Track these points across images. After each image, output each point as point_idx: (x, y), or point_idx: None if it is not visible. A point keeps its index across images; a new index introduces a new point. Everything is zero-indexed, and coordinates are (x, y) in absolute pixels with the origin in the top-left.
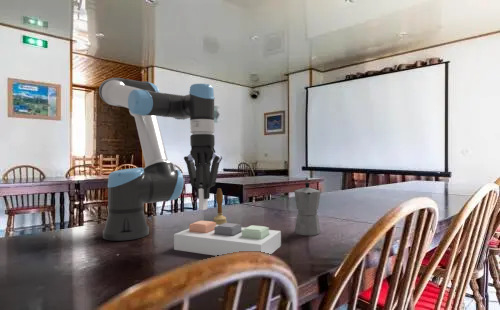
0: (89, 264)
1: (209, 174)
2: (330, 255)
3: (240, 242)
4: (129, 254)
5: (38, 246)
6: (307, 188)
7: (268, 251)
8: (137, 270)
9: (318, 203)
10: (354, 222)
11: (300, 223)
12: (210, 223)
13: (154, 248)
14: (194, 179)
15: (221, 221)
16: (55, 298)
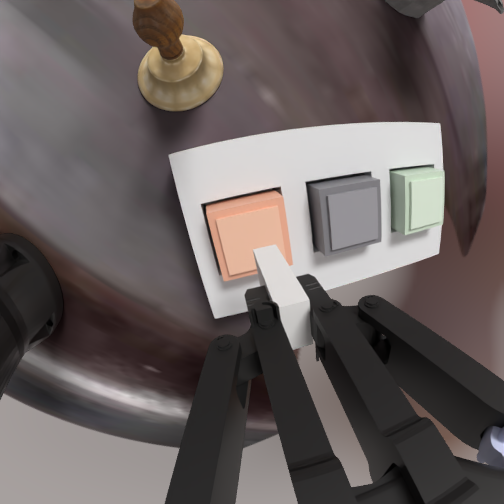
0: (172, 404)
1: (381, 370)
2: (479, 145)
3: (404, 265)
4: (167, 359)
5: (34, 390)
6: None
7: None
8: (259, 382)
9: None
10: None
11: (415, 2)
12: (281, 227)
13: (165, 314)
14: (213, 382)
15: (197, 72)
16: (255, 436)
